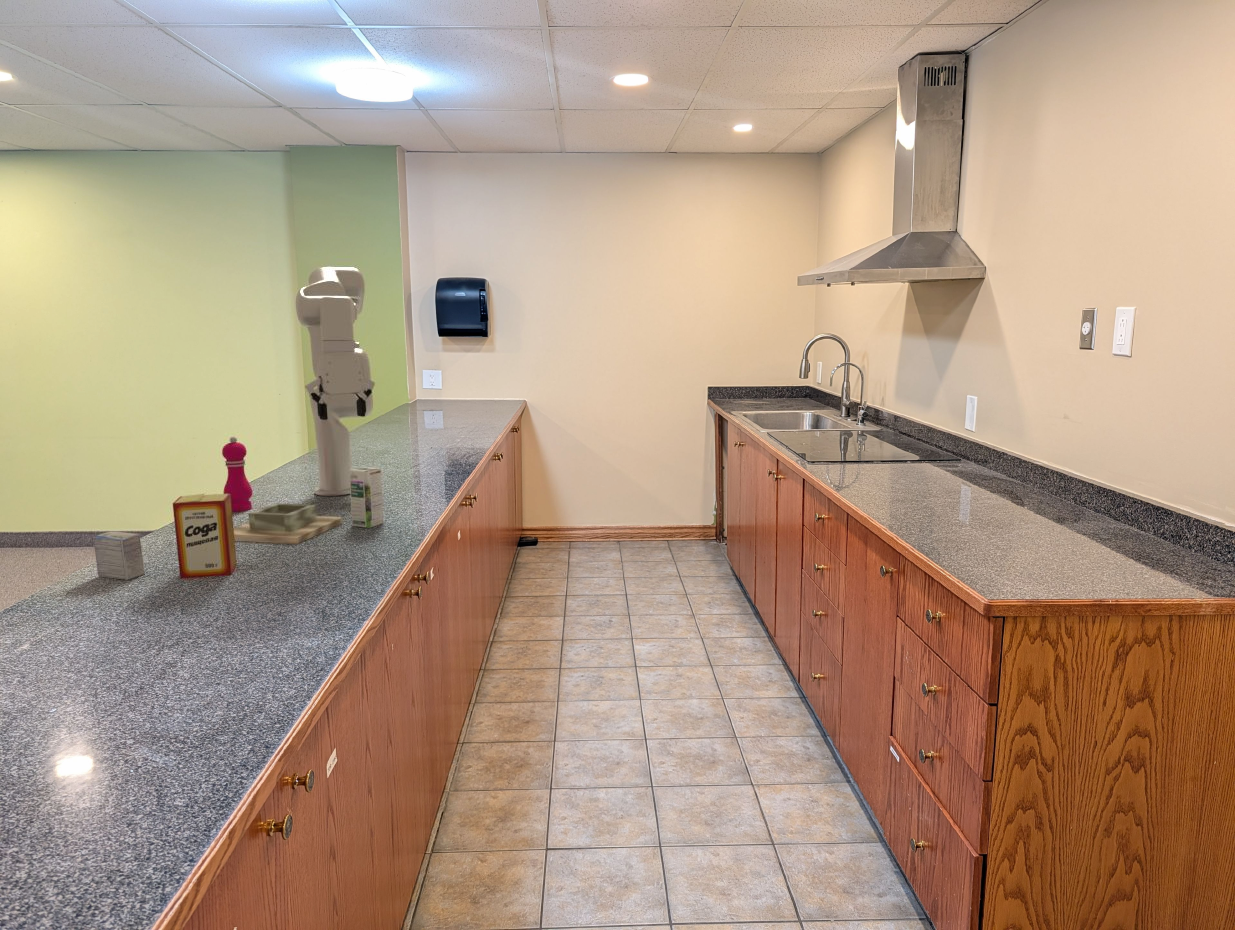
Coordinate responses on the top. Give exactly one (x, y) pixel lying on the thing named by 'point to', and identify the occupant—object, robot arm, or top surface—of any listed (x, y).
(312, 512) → the socket board
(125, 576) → the medicine box
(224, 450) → the pepper mill
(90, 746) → the top surface
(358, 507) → the syrup box
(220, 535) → the baking soda box
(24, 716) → the top surface
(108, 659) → the top surface
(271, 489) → the top surface
